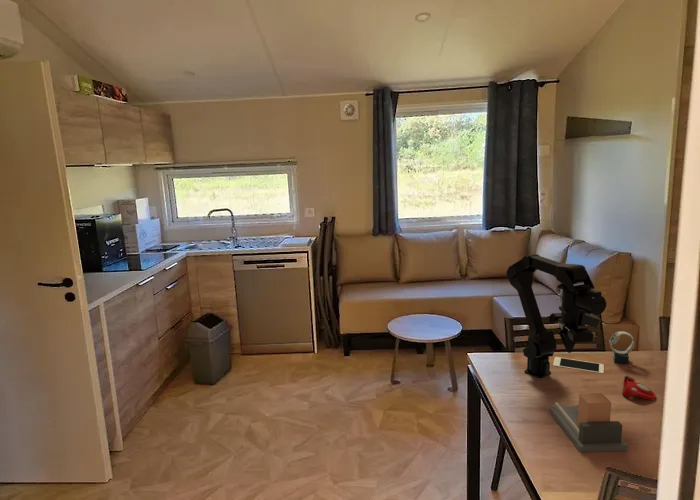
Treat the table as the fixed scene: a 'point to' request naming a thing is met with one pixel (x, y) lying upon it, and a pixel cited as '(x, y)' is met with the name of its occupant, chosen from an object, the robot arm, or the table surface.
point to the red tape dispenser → (636, 389)
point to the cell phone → (579, 365)
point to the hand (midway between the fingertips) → (569, 352)
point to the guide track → (575, 438)
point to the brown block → (593, 408)
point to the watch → (620, 355)
